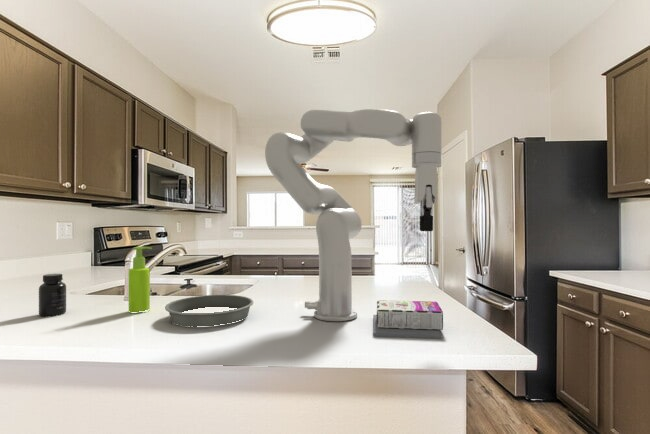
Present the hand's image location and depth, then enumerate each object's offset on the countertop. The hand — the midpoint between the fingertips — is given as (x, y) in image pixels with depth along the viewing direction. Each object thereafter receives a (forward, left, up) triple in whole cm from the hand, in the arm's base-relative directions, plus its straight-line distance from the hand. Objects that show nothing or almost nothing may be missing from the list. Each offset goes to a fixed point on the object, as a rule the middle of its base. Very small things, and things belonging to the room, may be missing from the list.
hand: (426, 230), depth 101 cm
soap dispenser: (-86, +8, -26) cm, 90 cm away
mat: (-6, -1, -25) cm, 26 cm away
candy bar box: (+4, 0, -22) cm, 22 cm away
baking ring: (-61, +3, -26) cm, 66 cm away
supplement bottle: (-110, +1, -26) cm, 113 cm away
